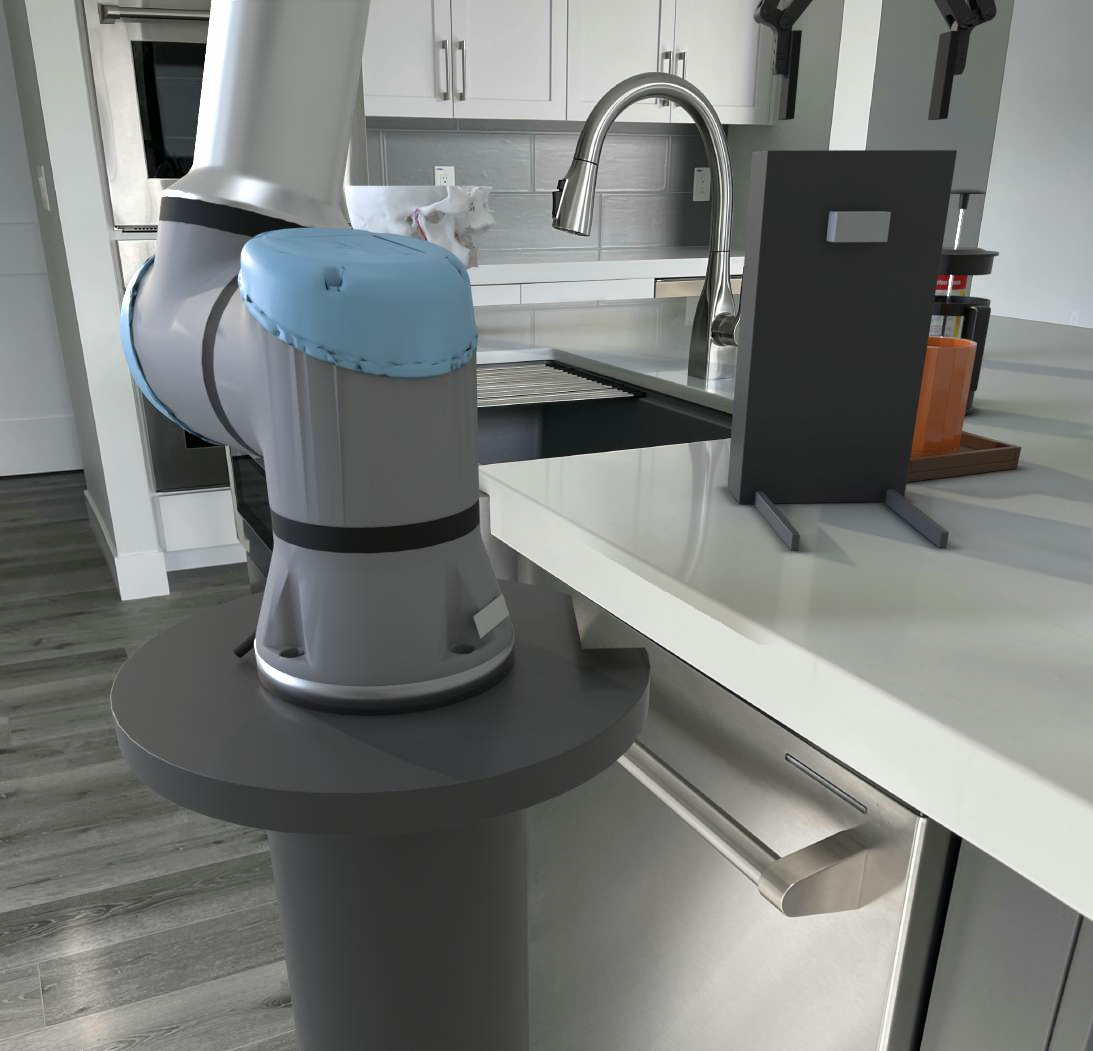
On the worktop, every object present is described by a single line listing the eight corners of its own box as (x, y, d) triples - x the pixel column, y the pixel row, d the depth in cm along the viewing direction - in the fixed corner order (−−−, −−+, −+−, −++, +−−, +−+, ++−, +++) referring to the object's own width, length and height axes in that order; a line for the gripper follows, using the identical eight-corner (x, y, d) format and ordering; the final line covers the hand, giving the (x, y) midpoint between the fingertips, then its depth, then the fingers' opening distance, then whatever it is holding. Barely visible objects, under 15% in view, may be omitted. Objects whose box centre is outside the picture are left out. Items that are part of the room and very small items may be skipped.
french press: (870, 403, 129) (898, 188, 118) (936, 398, 131) (970, 187, 121) (929, 422, 119) (966, 189, 108) (1000, 416, 121) (1043, 189, 111)
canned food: (939, 352, 165) (952, 267, 160) (963, 360, 158) (978, 272, 153) (890, 353, 164) (902, 268, 159) (913, 361, 157) (926, 272, 152)
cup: (888, 461, 99) (904, 348, 95) (862, 443, 106) (876, 336, 102) (971, 460, 100) (991, 347, 95) (939, 441, 107) (956, 335, 102)
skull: (344, 340, 179) (331, 186, 168) (369, 326, 196) (359, 185, 185) (493, 341, 177) (490, 186, 167) (506, 327, 194) (503, 184, 183)
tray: (903, 482, 96) (906, 460, 95) (815, 451, 106) (817, 431, 106) (1017, 468, 100) (1021, 446, 99) (921, 440, 111) (925, 420, 110)
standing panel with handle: (774, 550, 79) (814, 146, 67) (726, 488, 94) (752, 151, 82) (962, 547, 79) (1035, 145, 67) (884, 486, 95) (932, 151, 83)
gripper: (1029, -172, 89) (982, 121, 99) (732, -176, 88) (714, 121, 98) (1073, -200, 83) (1018, 117, 92) (752, -204, 82) (730, 117, 91)
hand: (861, 120), depth 95 cm, fingers open, 13 cm apart
